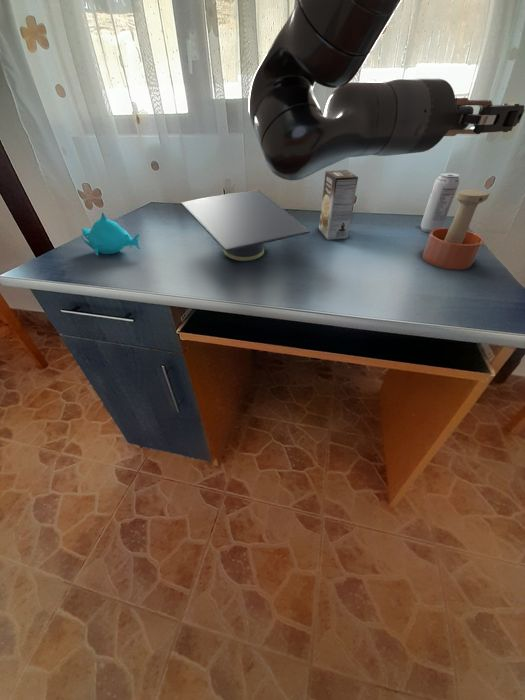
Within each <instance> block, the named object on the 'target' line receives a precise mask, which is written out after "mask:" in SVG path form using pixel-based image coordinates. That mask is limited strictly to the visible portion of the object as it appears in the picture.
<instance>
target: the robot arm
mask: <svg viewBox="0 0 525 700" xmlns="http://www.w3.org/2000/svg"><path fill="white" fill-rule="evenodd" d="M402 1H403V0H295V3H294V6H293V9H292V11H291V14H290V16H289V17H288V19H287V20H286V22H285V23H284V24H283V26H282V27H281V29H280V30H279V32H278V33H277V35H276V36H275V39H274V40H273V42H272V44H271V45H270V47H269V49H268V50H267V52H266V54H265V56H264V57H263V59H262V61H261V62H260V64H259V66H258V68H257V70H256V71H255V74H254V76H253V78H252V82H251V85H250V89H249V95H248V116H249V119H250V123H251V125H252V127H253V130H254V133H255V137H256V138H257V141H258V143H259V145H260V146H259V147H260V149H261V151H262V154H263V157H264V159H265V162H266V164H267V165H266V166H268V168H269V170H270V171H271V172H272V174H273V175H275V176H276V177H278V178H279V179H282V180H286V181H299V180H303V179H305V178H307V177H309V176H311V175H313V174H315V173H317V172H319V171H321V170H323V169H325V168H327V167H329V166H332V165H334V164H337V163H338V162H341V161H343V160H345V159H348V158H358V157H366V156H377V157H389V156H398V155H406V154H407V155H408V154H418V153H424V152H428V151H430V150H432V149H433V148H434V147H435V146H436V145H438V144H439V143H440V142H441V140H443V138H444V137H456V136H457V135H481V134H486V133H500V132H502V133H508V132H513V131H512V130H513V128H515V127H516V126H517V125H518V124H520V122H521V119H522V118H523V116H524V113H525V105H524V104H522V105H521V104H520V103H514V104H509V103H502V104H493V102H492V100H491V99H469V98H468V97H456V95H455V91H454V88H453V87H452V84H450V83H449V82H448V81H447V80H445V79H443V78H394V79H393V78H392V79H388V80H383V81H353V79H354V78H355V76H357V74H358V73H359V72H360V70H361V68H362V67H363V65H364V64H365V63H366V60H367V59H368V57H369V55H370V54H371V53H372V50H373V49H374V48H375V46H376V44H377V42H378V41H379V40H380V38H381V36H382V34H383V32H384V30H385V29H386V27H387V26H388V24H389V22H390V21H391V20H392V17H393V16H394V14H395V12H396V11H397V9H398V7H399V6H400V4H401V2H402ZM315 84H317V85H320V86H322V87H325V88H329V89H334V90H333V91H332V93H331V94H330V95H329V97H328V99H327V101H326V104H325V107H324V111H323V112H322V110H321V107H320V105H319V102H318V100H317V97H316V95H315V92H314V87H315ZM474 106H478V107H479V111H478V113H474V110H475V109H474ZM469 125H473V126H471V127H469V128H467V127H468V126H469Z"/></svg>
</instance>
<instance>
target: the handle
mask: <svg viewBox="0 0 525 700" xmlns="http://www.w3.org/2000/svg"><path fill="white" fill-rule="evenodd" d="M490 194H491V193H490V192H488V191H485V190H481V189H463V190H462V189H461V190H459V191H457V194H456V196H455V198H456V200H457V201H458V202H459V205H458V209H457V211H456V213H455V215H454V218H453V220H452V222H451V224H450V226H449V227H448V228H449V230H448V232H447V235H446V237H445V240H444V241H446V242H450V243H455V244H462V242H463V240H464V238H465V236H466V233H467V231H469V227H470V225H471V222H472V219H473V217H474V214H475V211H476V209H477V208H478V205H479V204H482V203H484V202H485V201H487V200H488V198H489V196H490Z"/></svg>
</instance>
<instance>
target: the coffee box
mask: <svg viewBox="0 0 525 700" xmlns="http://www.w3.org/2000/svg"><path fill="white" fill-rule="evenodd" d="M358 181H359V176H357V175H356V174H353V173H352V172H351V171H349V170H347V169H340V170H325V173H324V182H323V190H322V199H321V200H322V201H321V208H320V217H319V227H318V230H319V231H320V232H321V234H322V235H323V236H324V237H325V238H326V240H343V239H348V236H349V229H350V223H351V219H352V212H353V207H354V202H355V196H356V191H357V187H358Z"/></svg>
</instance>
